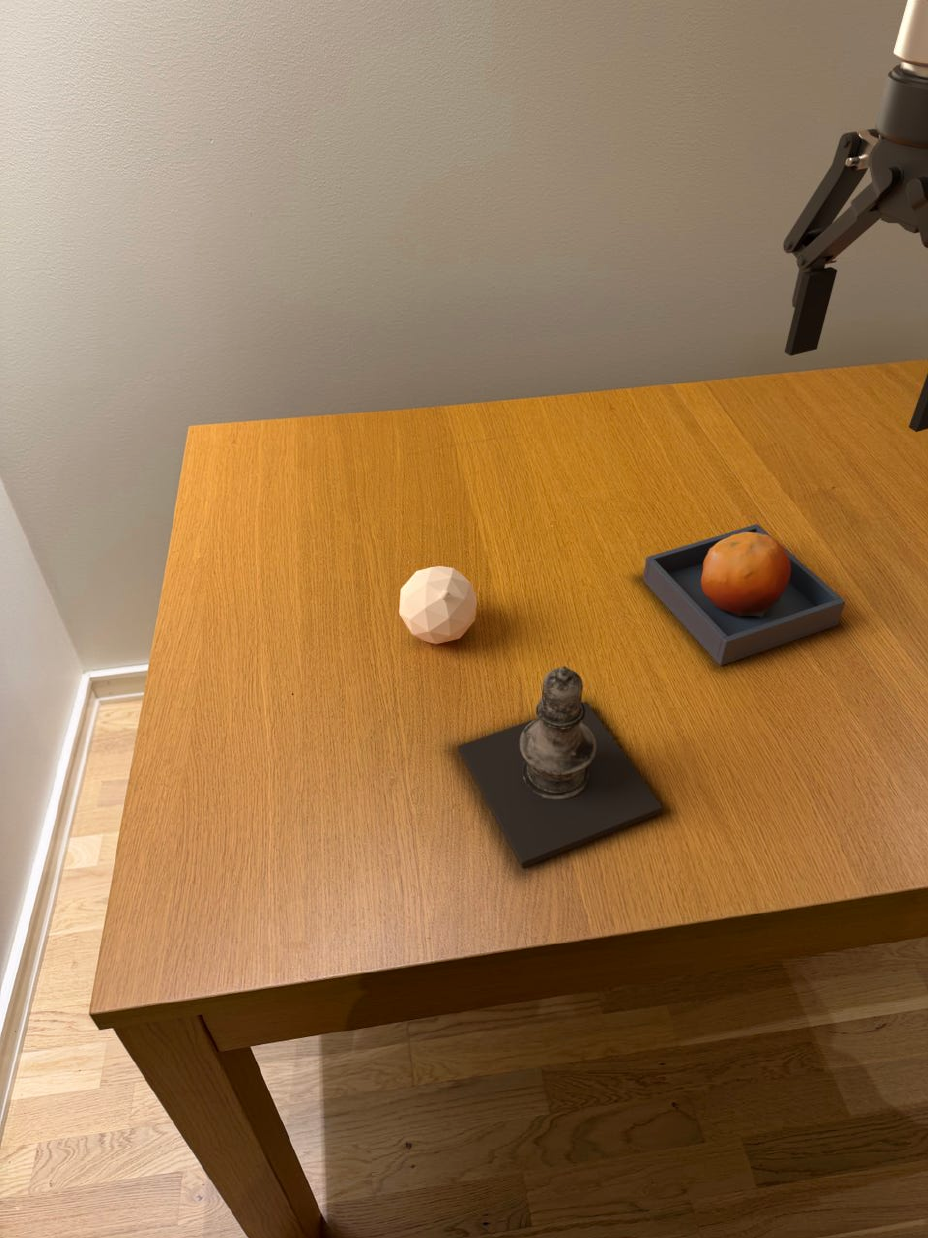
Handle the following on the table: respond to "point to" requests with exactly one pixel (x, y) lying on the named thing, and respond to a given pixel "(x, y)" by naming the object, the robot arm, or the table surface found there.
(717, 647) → the tray
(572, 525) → the table surface
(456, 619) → the ornament
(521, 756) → the mat
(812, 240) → the robot arm
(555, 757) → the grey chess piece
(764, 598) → the fruit
